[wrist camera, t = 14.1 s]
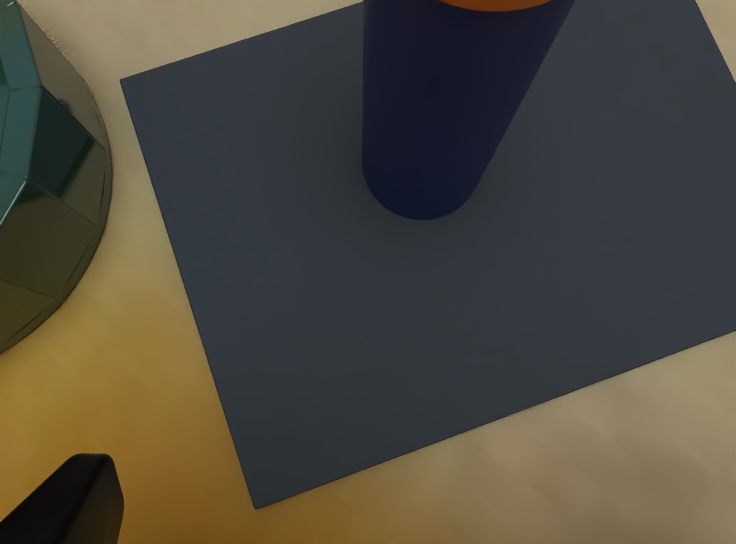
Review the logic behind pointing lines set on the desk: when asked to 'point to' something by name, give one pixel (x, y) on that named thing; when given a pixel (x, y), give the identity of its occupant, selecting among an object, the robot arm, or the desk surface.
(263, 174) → the dark grey flat plate
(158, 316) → the desk surface
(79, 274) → the pot
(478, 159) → the disc
